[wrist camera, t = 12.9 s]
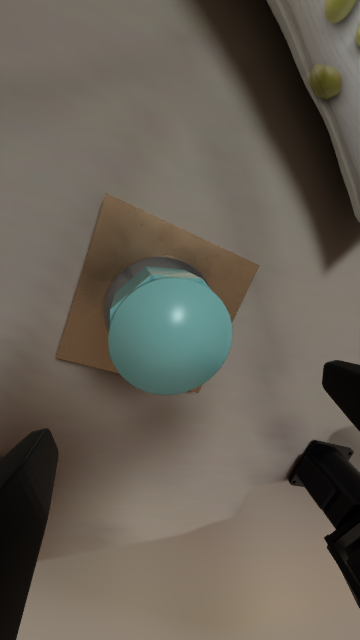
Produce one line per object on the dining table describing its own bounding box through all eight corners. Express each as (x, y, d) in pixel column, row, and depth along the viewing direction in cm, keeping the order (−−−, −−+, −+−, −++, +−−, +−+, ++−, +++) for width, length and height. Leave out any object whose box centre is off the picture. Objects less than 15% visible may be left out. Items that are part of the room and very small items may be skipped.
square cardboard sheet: (253, 264, 19) (292, 271, 14) (195, 386, 22) (213, 426, 17) (107, 196, 15) (97, 175, 11) (59, 351, 18) (35, 389, 13)
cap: (156, 370, 18) (165, 414, 13) (94, 310, 16) (78, 339, 11) (221, 316, 18) (253, 343, 13) (167, 247, 15) (183, 249, 11)
